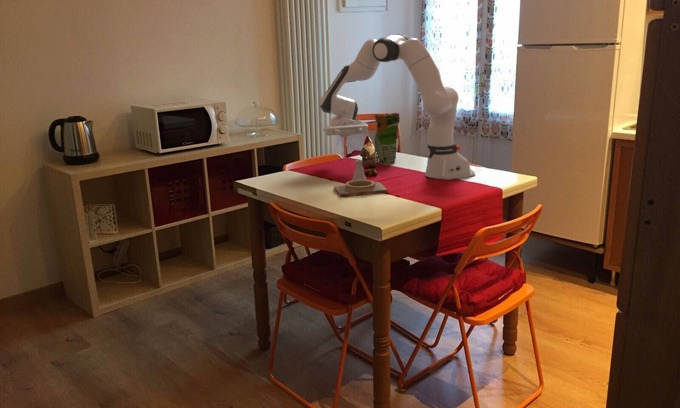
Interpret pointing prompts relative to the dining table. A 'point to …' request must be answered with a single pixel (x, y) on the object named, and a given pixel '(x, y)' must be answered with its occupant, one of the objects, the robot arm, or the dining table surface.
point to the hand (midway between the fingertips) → (350, 132)
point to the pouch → (386, 137)
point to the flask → (359, 171)
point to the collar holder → (360, 188)
